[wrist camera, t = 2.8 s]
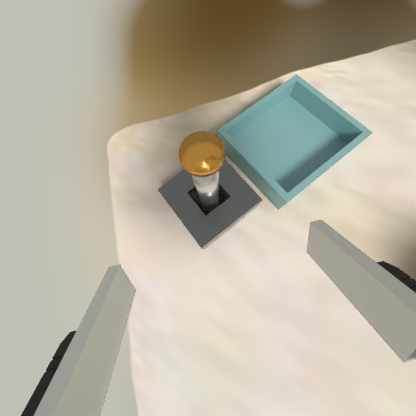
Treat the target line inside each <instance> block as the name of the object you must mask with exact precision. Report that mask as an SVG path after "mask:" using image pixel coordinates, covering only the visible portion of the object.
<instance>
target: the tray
mask: <svg viewBox="0 0 416 416" xmlns="http://www.w3.org/2000/svg"><path fill="white" fill-rule="evenodd" d="M372 133H373V132H371V131H370V130H369V129H367V128H366V127H365V126H363V125H362V124H361V123H360V122H358V121H357V120H356V119H354V118H353V117H352V116H350V115H349V114H348V113H346V112H345V111H344V110H343V109H341V108H340V107H339V106H337V105H336V104H335V103H333V102H332V101H331V100H329V99H328V98H327V97H325V96H324V95H323V94H322V93H320V92H319V91H318V90H316V89H315V88H314V87H312V86H311V85H310V84H308V83H307V82H306V81H305V80H303V79H302V78H301V77H299V76H298V75H297V74H296V75H295V76H293V77H292V78H291V79H289V80H288V81H286V82H285V83H283V84H282V85H281V86H279V87H278V88H276V89H275V90H274V91H272V92H271V93H269V94H268V95H266V96H265V97H264V98H262V99H261V100H259V101H258V102H256V103H255V104H254V105H252V106H251V107H249V108H248V109H246V110H245V111H244V112H242V113H241V114H239V115H238V116H236V117H235V118H234V119H232V120H231V121H229V122H228V123H226V124H225V125H224V126H222V127H221V128H219V129H218V130H217V136H218V137H219V138H220V139H221V140H222V142H223V144H224V147H225V154H226V155H227V156H228V157H229V158H230V159H231V160H232V161H233V162H234V163H235V164H236V165H237V167H238V168H239V169H240V170H241V171H242V172H243V173H244V174H245V175H246V176H247V177H248V178H249V179H250V180H251V181H252V182H253V183H254V185H255V186H256V187H257V188H258V189H259V190H260V191H261V192H262V193H263V194H264V195H265V196H266V197H267V198H268V199H269V200H270V202H271V203H272V204H273V205H274V206H275V207H276V208H277V209H280V208H281V207H282V206H283V205H285V204H286V203H287V202H289V201H290V200H291V199H292V198H294V197H295V196H296V195H297V194H298V193H300V192H301V191H302V190H303V189H305V188H306V187H307V186H308V185H309V184H311V183H312V182H313V181H314V180H316V179H317V178H318V177H319V176H320V175H322V174H323V173H324V172H325V171H327V170H328V169H329V168H330V167H331V166H333V165H334V164H335V163H336V162H338V161H339V160H340V159H341V158H342V157H344V156H345V155H346V154H347V153H349V152H350V151H351V150H352V149H353V148H355V147H356V146H357V145H358V144H360V143H361V142H362V141H363V140H364V139H366V138H367V137H368V136H369V135H371V134H372Z"/></svg>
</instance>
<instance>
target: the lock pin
mask: <svg viewBox="0 0 416 416" xmlns="http://www.w3.org/2000/svg"><path fill="white" fill-rule="evenodd" d="M179 157H180V160H181V162H182V165H183V167H184V169H185V170H186V171H187V172H188V173H189V174H191V175H192V178H193V181H194V184H195V187H196V190H197V193H198V196H199V199H200V202H201V205H202V207H203V209H205V210H206V211H213V210H214V209H215V208H217V207H218V204H219V170H220V169H221V167H222V166H223V163H224V159H225V147H224V144H223V142H222V140H221V139H220V138H219V137H218V136H217V135H215V134H213V133H210V132H196V133H193V134H191V135H189V136H188V137H187V138H185V139H184V141H183V142H182V144H181V146H180V149H179Z"/></svg>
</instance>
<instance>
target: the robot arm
mask: <svg viewBox="0 0 416 416" xmlns="http://www.w3.org/2000/svg"><path fill="white" fill-rule="evenodd" d="M307 253H308V254H309V255H310V256H311V258H312V259H313V260H314V261H315V262H316V263H317V264H318V266H319V267H320V268H321V269H322V270H323V271H324V272H325V273H326V275H327V276H328V277H329V278H330V279H331V280H332V281H333V283H334V284H335V285H336V286H337V287H338V288H339V289H340V291H341V292H342V293H343V294H344V295H345V296H346V297H347V299H348V300H349V301H350V302H351V303H352V304H353V305H354V307H355V308H356V309H357V310H358V311H359V312H360V313H361V315H362V316H363V317H364V318H365V319H366V320H367V321H368V323H369V324H370V325H371V326H372V327H373V328H374V329H375V331H376V332H377V333H378V334H379V335H380V336H381V337H382V339H383V340H384V341H385V342H386V343H387V344H388V345H389V346H390V348H391V349H392V350H393V351H394V352H395V353H396V354H397V356H398V357H399V358H400V359H401V360H402V361H403V362H409V361H413V360H416V281H415V280H414V279H411V278H410V276H408V275H407V274H406V273H404V272H403V271H401V270H400V269H399V268H397V267H395V266H393V265H391V264H389V263H386V262H384V261H381V262H377V263H376V262H375V261H374V260H373V259H371V258H370V257H369V256H367V255H366V254H365V253H364V252H362V251H361V250H360V249H358V248H357V247H356V246H355V245H353V244H352V243H351V242H349V241H348V240H347V239H346V238H344V237H343V236H342V235H340V234H339V233H338V232H337V231H335V230H334V229H333V228H331V227H330V226H329V225H328V224H326V223H325V222H324V221H322V220H318V221H314V222H310V229H309V237H308V246H307ZM135 292H136V289H135V288H134V286H133V285H132V283H131V281H130V280H129V278H128V277H127V275H126V273H125V272H124V270H123V268H122V267H121V265H116V266H112V267H109V268H108V270H107V272H106V274H105V276H104V278H103V280H102V282H101V284H100V286H99V288H98V290H97V292H96V294H95V296H94V298H93V300H92V302H91V304H90V306H89V307H88V309H87V311H86V313H85V315H84V317H83V319H82V322H81V323H80V325H79V327H78V329H77V331H73V332H70V333H69V334H68V335H67V337H66V338H65V339H64V340H63V341H62V343H61V344H60V346H59V348H58V349H57V351H56V353H55V355H54V356H53V360H52V361H51V362H50V364H49V366H48V368H47V369H46V370H47V371H46V372H45V373H44V375H43V377H42V378H41V380H40V382H39V384H38V386H37V387H36V389H35V391H34V393H33V395H32V397H31V398H30V400H29V402H28V404H27V406H26V408H25V409H24V411H23V413H22V415H21V416H100V415H101V411H102V408H103V404H104V401H105V397H106V393H107V390H108V387H109V383H110V380H111V376H112V373H113V369H114V366H115V362H116V359H117V355H118V352H119V348H120V345H121V341H122V338H123V334H124V331H125V327H126V324H127V320H128V317H129V313H130V310H131V306H132V303H133V299H134V296H135Z"/></svg>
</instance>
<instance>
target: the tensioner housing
mask: <svg viewBox="0 0 416 416" xmlns="http://www.w3.org/2000/svg"><path fill="white" fill-rule="evenodd" d="M158 190H159V192H160V193H161V194H162V196H163V197H164V198H165V200H166V201H167V202H168V204H169V205H170V206H171V208H172V209H173V211H174V212H175V213H176V215H177V216H178V217H179V219H180V220H181V221H182V223H183V224H184V225H185V227H186V228H187V229H188V231H189V232H190V233H191V235H192V236H193V237H194V239H195V240H196V241H197V243H198V244H199V245H200V247H201V248H202V249H205V248H206V247H207V246H209V245H210V244H211V243H212V242H214V241H215V240H216V239H217V238H219V237H220V236H221V235H222V234H224V233H225V232H226V231H227V230H229V229H230V228H231V227H232V226H234V225H235V224H236V223H237V222H239V221H240V220H241V219H242V218H244V217H245V216H246V215H247V214H249V213H250V212H251V211H252V210H254V209H255V208H256V207H257V206H258V205H259V203H260V202H261V201H262V199H261V198H260V197H259V196H258V195H257V194H256V193H255V192H254V190H253V189H252V188H251V187H250V186H249V185H248V184H247V183H246V182H245V181H244V180H243V179H242V178H241V176H240V175H239V174H238V173H237V172H236V171H235V170H234V169H233V168H232V167H231V166H230V165H229V164H228V163H227V161H226V160H225V159H224V163H223V166H222V167H221V169H220V170H219V193H220V195H221V196H222V197H223V198H224V199H225V200H226V201H224V202H223V203H222V204H221V205H219V206H218V207H217V208H215V209H214V210H213V211H211V212H210V213H209V214H208V215H205V214H204V213H203V212H202V210H201V209H200V208H199V207H198V205H197V204H196V203H195V202H194V200H193V199H194V198H195V197H197V196H198V193H197V190H196V187H195V184H194V181H193V178H192V175H191V174H189V173H188V172H187V171H186V170H184V171H183V172H181V173H180V174H179V175H177V176H176V177H174V178H173V179H172V180H170V181H169V182H167V183H166V184H165V185H163V186H162V187H160V188H159V189H158Z"/></svg>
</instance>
